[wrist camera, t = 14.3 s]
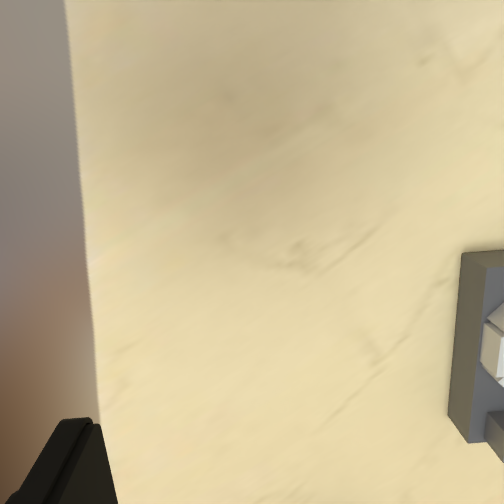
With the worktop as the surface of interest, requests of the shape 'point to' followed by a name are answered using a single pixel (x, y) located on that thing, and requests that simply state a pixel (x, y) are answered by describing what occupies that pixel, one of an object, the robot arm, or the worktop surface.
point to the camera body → (479, 351)
